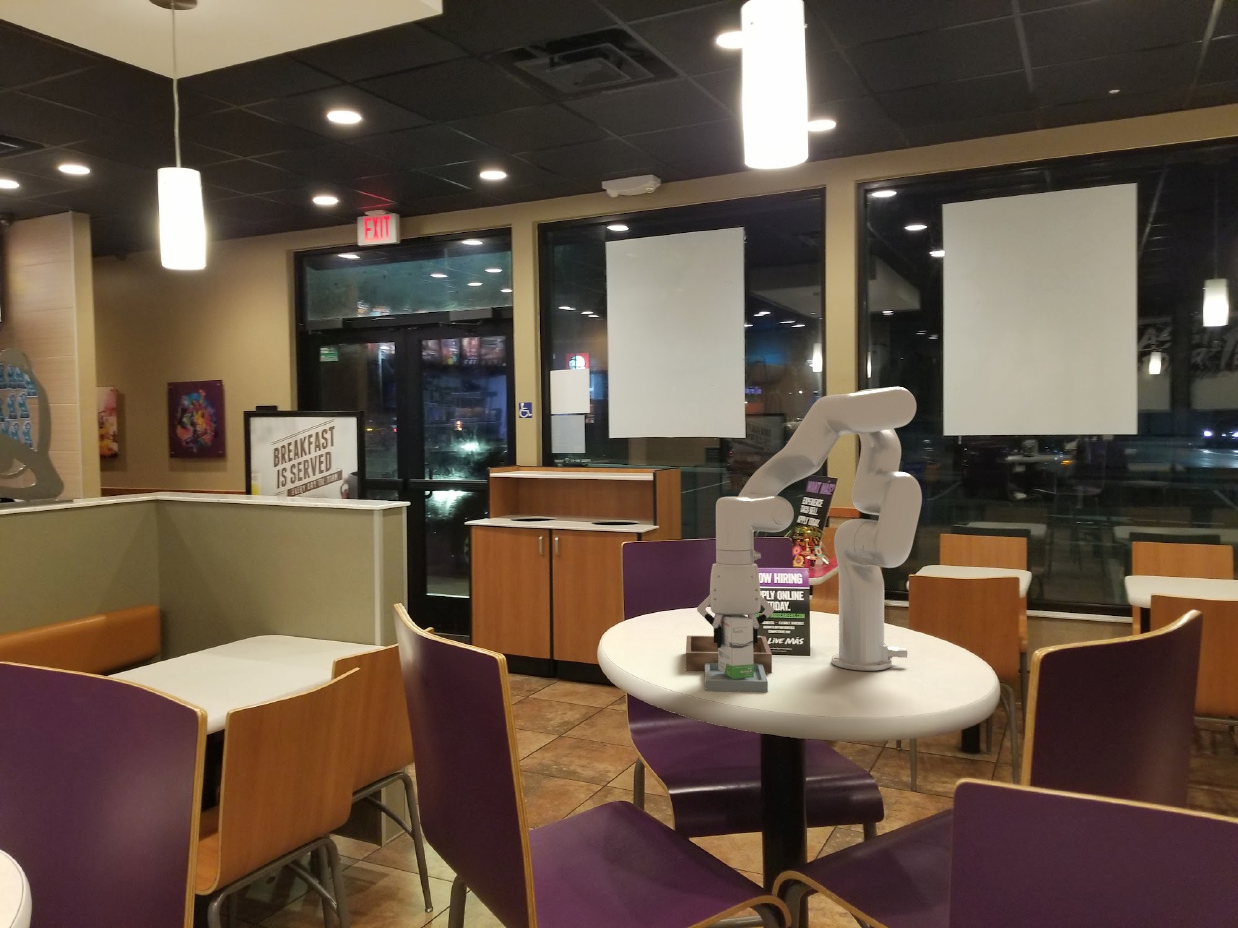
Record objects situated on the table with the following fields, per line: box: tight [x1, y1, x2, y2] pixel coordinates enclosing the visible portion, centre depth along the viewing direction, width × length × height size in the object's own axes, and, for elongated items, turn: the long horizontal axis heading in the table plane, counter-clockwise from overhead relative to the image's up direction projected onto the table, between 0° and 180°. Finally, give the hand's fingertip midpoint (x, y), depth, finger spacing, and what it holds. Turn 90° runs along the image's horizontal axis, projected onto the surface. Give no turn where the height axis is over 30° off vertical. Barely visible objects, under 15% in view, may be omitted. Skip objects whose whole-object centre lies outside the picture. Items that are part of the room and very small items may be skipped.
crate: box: [685, 635, 773, 674], centre depth 193 cm, size 18×17×4 cm
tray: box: [704, 663, 769, 693], centre depth 177 cm, size 12×14×2 cm
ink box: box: [718, 615, 754, 679], centre depth 177 cm, size 9×5×12 cm, turn 12°
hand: (735, 645), depth 177 cm, fingers closed on ink box, 6 cm apart
